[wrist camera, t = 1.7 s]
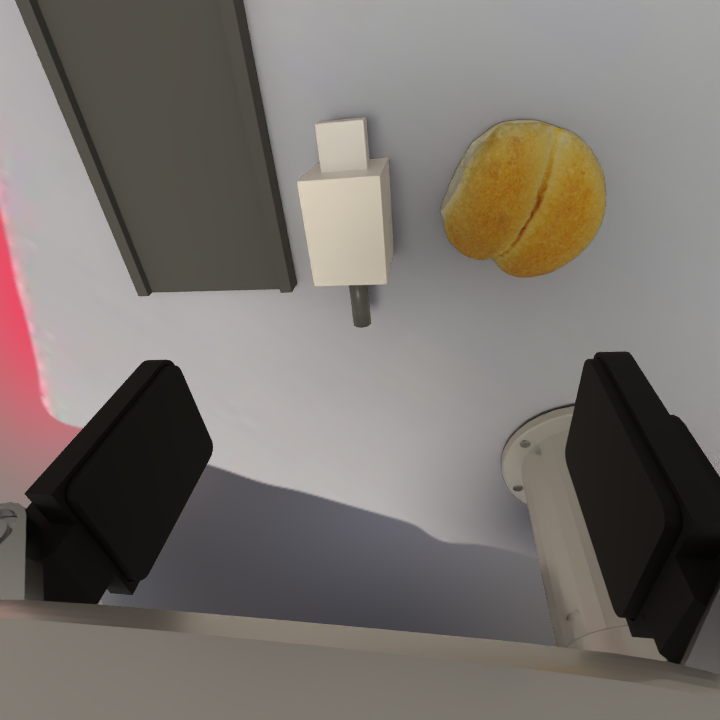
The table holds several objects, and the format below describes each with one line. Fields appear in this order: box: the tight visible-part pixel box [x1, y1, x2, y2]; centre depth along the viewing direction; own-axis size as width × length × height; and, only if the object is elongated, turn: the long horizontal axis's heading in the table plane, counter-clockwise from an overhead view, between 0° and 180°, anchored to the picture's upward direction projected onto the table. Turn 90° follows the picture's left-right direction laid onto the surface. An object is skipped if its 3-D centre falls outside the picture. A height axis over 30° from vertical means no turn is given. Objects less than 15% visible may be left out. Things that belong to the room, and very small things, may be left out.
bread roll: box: [440, 120, 606, 277], centre depth 25 cm, size 8×9×4 cm
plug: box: [297, 117, 394, 327], centre depth 27 cm, size 12×4×5 cm, turn 6°
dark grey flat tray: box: [15, 0, 297, 296], centre depth 27 cm, size 20×12×1 cm, turn 6°
